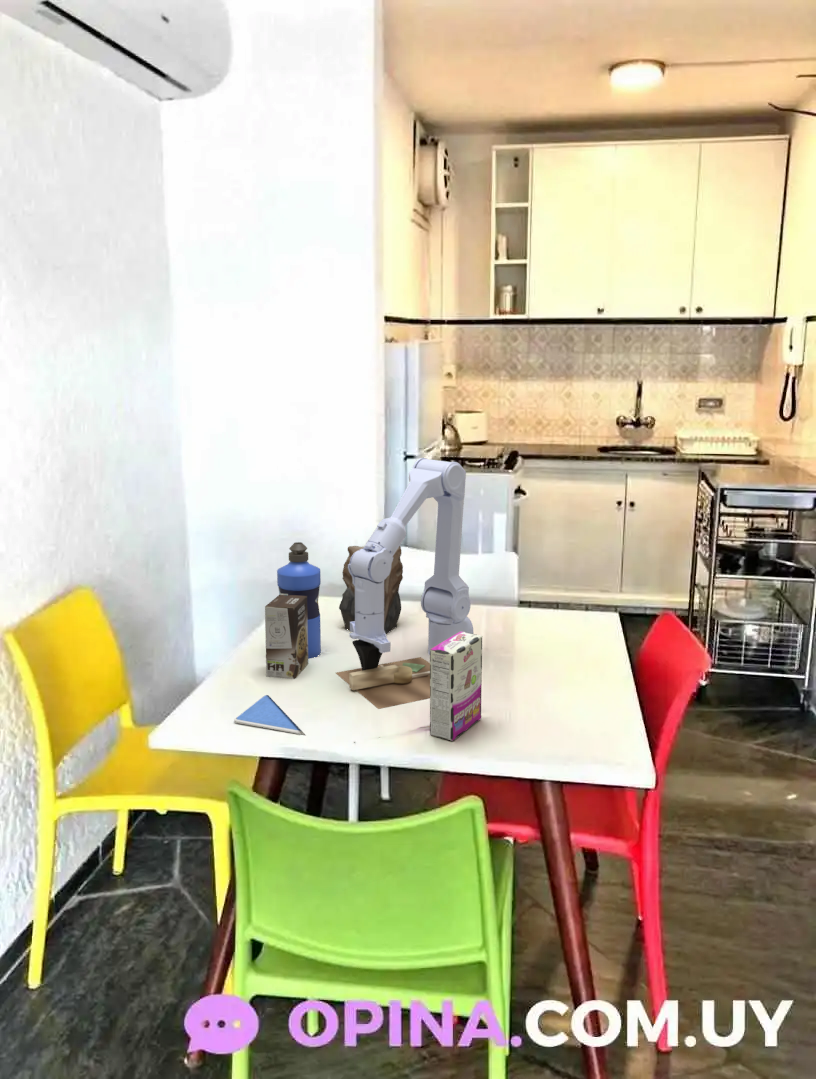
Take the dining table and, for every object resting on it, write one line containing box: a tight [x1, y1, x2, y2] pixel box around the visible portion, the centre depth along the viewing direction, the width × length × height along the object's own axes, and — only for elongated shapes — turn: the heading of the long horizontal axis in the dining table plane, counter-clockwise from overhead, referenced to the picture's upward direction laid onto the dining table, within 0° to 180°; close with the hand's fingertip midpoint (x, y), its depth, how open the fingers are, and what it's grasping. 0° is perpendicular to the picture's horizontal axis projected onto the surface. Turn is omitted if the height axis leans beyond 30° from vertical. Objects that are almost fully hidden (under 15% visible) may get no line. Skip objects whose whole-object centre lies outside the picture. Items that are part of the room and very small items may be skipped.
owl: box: [338, 545, 404, 635], centre depth 210 cm, size 13×13×20 cm
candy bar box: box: [429, 632, 483, 742], centre depth 157 cm, size 11×5×16 cm, turn 148°
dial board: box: [335, 656, 430, 710], centre depth 176 cm, size 20×20×1 cm
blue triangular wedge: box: [233, 694, 306, 736], centre depth 162 cm, size 19×13×1 cm, turn 71°
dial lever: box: [348, 665, 430, 691], centre depth 175 cm, size 20×4×3 cm, turn 118°
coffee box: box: [264, 594, 309, 680], centre depth 180 cm, size 9×6×16 cm
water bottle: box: [276, 541, 322, 660], centre depth 192 cm, size 9×9×25 cm
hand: (369, 675), depth 175 cm, fingers closed
